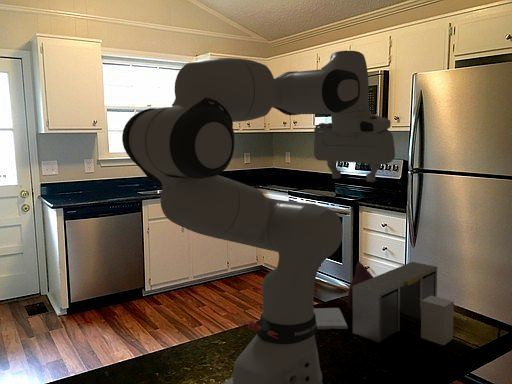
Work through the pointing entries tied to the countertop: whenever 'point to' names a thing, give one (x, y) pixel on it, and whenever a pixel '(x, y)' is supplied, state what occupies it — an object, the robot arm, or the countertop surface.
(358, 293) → the miniature grey desk
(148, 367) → the countertop surface
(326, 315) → the external hard drive
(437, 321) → the tall grey upright block
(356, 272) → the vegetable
